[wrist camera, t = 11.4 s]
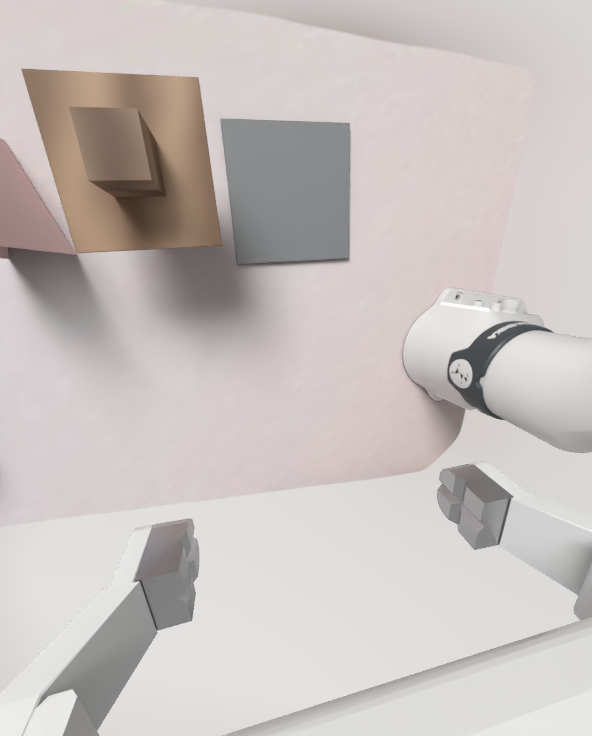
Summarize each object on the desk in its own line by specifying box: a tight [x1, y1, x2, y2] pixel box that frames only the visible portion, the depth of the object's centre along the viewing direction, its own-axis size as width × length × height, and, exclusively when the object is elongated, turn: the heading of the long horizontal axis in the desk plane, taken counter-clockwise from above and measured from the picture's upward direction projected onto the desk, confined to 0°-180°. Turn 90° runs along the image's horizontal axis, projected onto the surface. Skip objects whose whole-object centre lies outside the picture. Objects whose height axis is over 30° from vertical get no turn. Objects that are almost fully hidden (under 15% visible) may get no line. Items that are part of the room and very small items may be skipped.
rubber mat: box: [221, 119, 350, 264], centre depth 35 cm, size 15×15×1 cm
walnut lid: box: [22, 69, 222, 253], centre depth 21 cm, size 12×12×5 cm
